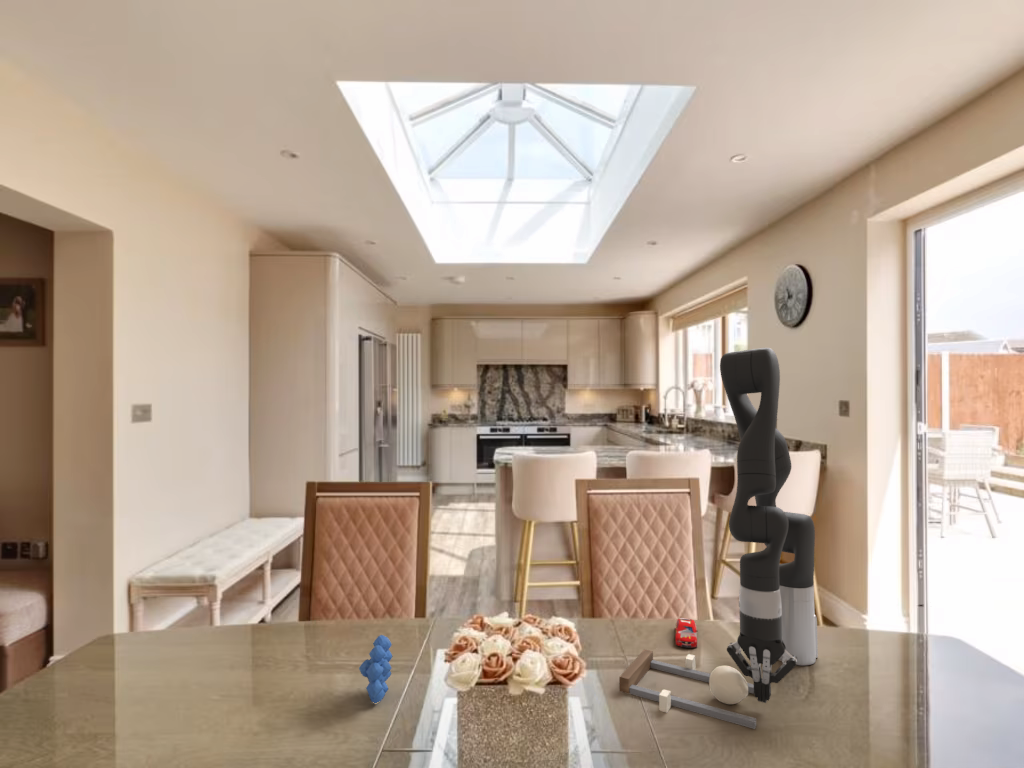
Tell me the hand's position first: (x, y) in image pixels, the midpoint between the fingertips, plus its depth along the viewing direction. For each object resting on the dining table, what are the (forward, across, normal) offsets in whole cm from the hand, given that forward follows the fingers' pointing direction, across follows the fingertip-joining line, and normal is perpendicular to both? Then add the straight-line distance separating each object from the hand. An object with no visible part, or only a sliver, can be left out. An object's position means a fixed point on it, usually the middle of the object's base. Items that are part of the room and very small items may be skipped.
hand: (762, 700), depth 109 cm
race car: (+2, +22, -26) cm, 34 cm away
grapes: (+2, +68, +35) cm, 77 cm away
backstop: (+2, +25, 0) cm, 25 cm away
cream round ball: (+2, +6, 0) cm, 7 cm away
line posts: (+2, +16, 0) cm, 16 cm away
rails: (+2, +12, 0) cm, 12 cm away
